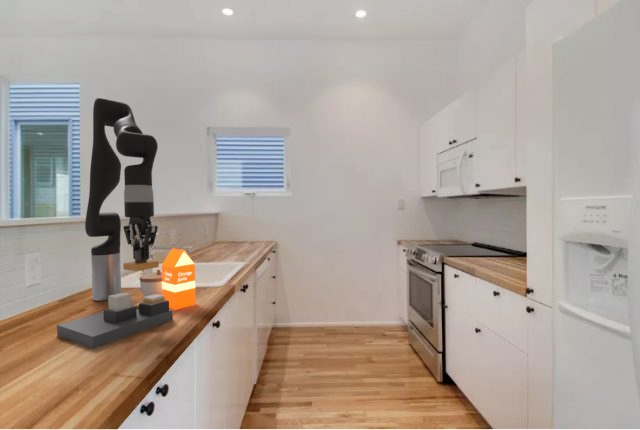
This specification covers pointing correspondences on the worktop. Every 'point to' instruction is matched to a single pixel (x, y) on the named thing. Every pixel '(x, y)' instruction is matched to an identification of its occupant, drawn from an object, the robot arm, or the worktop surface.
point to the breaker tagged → (153, 299)
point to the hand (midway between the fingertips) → (141, 259)
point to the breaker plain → (119, 302)
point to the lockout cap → (140, 263)
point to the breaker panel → (114, 324)
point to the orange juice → (178, 279)
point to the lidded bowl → (151, 283)
